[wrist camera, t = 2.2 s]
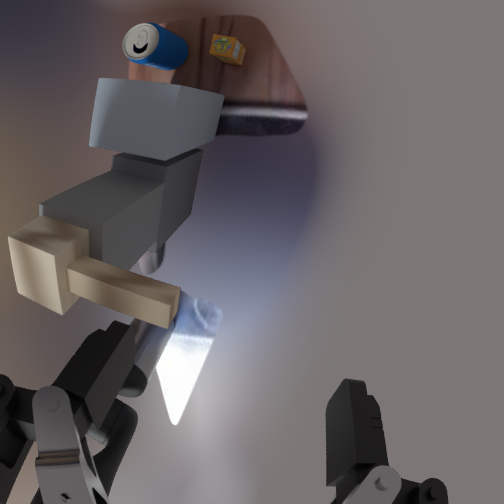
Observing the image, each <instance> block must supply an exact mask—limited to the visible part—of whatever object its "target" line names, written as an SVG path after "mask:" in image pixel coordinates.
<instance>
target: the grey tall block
mask: <svg viewBox="0 0 504 504" xmlns="http://www.w3.org/2000/svg"><path fill="white" fill-rule="evenodd" d="M224 97H225V95H222V94H218V93H214V92H209V91H205V90H201V89H196V88H192V87H187V86H182V85H175V84H168V83H159V82H150V81H139V80H126V79H125V80H124V79H109V78H99V82H98V87H97V92H96V98H95V104H94V111H93V117H92V125H91V132H90V142H89V146H91V147H97V148H103V149H109V150H114V151H119V152H124V153H130V154H135V155H140V156H145V157H150V158H154V159H159V160H164V161H166V160H168V159H170V158H173V157H175V156H177V155H180V154H182V153H184V152H187V151H189V150H192V149H194V148H196V147H199V146H201V145H204V144H207V143H209V142H212V141H214V139H215V134H216V130H217V126H218V122H219V117H220V113H221V109H222V105H223V101H224Z"/></svg>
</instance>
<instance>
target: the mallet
mask: <svg viewBox="0 0 504 504" xmlns="http://www.w3.org/2000/svg"><path fill="white" fill-rule="evenodd" d="M8 241H9V248H10V254H11V260H12V266H13V270H14V275H15V281H16V285H17V290H18V293H20V294H22V295H24V296H25V297H27V298H29V299H31V300H34V301H35V302H37V303H39V304H41V305H43V306H45V307H47V308H49V309H50V310H53V311H55V312H57V313H59V314H61V315H64V314H65V313H66V311H67V310H68V309H69V308H70V307H71V306H72V305H73V304H74V303H75V301H76V300H78V299H79V297H80V296H81V297H84V298H86V299H88V300H91V301H93V302H96V303H98V304H101V305H103V306H105V307H108V308H111V309H113V310H116V311H118V312H121V313H124V314H126V315H129V316H132V317H134V318H137V319H140V320H143V321H146V322H148V323H151V324H154V325H157V326H160V327H163V328H166V329H168V328H169V326H170V324H171V322H172V320H173V318H174V317H175V315H176V313H177V311H178V303H179V296H180V287H177V286H173V285H170V284H167V283H164V282H161V281H158V280H154V279H152V278H148V277H145V276H142V275H139V274H136V273H133V272H130V271H127V270H124V269H121V268H119V267H116V266H113V265H110V264H107V263H104V262H101V261H98V260H96V259H93V258H90V257H89V230H88V229H85V228H81V227H78V226H75V225H72V224H69V223H66V222H63V221H60V220H57V219H54V218H51V217H48V216H45V215H41V216H40V217H38V218H36V219H35V220H33V221H31V222H29V223H28V224H26V225H24V226H23V227H22V228H20V229H18V230H16V231H15V232H13V233H12V234H10V235H8Z"/></svg>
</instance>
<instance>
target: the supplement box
mask: <svg viewBox="0 0 504 504" xmlns="http://www.w3.org/2000/svg"><path fill="white" fill-rule="evenodd" d="M246 50H247V49H246V48H245V47H244V46H243V45H242V44H241V43H240V42H239V41H238V39H237V38H236V37H229V36H223V35H217V34H213V37H212V42H211V47H210V52H209V53H210V54H212V55H213V56H215V57H217V58H218V59H220V60H222V61H223V62H225V63H229V64H235V65H240V66H242V63H243V60H244V57H245V54H246Z"/></svg>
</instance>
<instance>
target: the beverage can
mask: <svg viewBox="0 0 504 504" xmlns="http://www.w3.org/2000/svg"><path fill="white" fill-rule="evenodd" d="M123 50H124V53H125V55H126V56H127V57H128V59H129V60H131V61H132V62H134V63H138V64H142V65H147V66H151V67H155V68H158V69H162V70H173V69H176V68H178V67H179V66H181V65H182V64H183V63H184V61H185V60H186V58H187V55H188V45H187V43H186V42H185V40H183V39H182V38H180V37H179V36H177V35H175V34H174V33H172V32H170V31H168V30H167V29H165V28H163V27H161V26H159V25H158V24H155V23H144V24H139V25H136V26H134V27H133V28H132V29H130V31H129V32H128V33H127V34H126V36H125V38H124V41H123Z"/></svg>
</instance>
